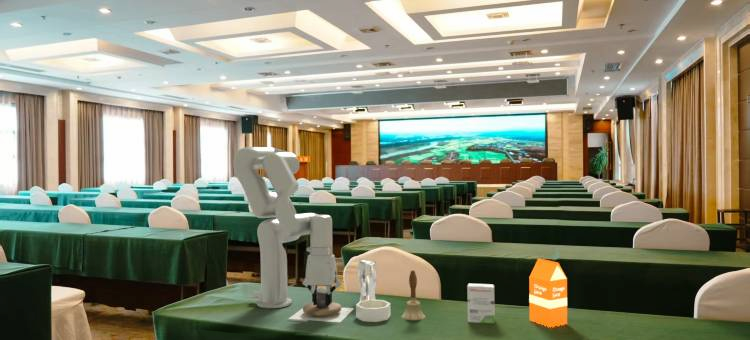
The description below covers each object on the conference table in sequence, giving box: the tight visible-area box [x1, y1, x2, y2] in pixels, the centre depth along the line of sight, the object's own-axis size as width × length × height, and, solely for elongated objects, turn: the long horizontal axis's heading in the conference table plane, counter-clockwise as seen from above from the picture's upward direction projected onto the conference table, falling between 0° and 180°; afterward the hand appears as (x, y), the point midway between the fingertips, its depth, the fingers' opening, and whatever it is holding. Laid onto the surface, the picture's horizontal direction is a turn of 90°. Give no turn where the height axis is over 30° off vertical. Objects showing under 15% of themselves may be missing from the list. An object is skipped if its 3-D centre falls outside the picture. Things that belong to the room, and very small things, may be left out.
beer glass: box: [357, 259, 378, 301], centre depth 192 cm, size 7×7×15 cm
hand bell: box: [401, 270, 426, 321], centre depth 171 cm, size 8×8×16 cm
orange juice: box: [528, 257, 568, 329], centre depth 166 cm, size 8×9×20 cm
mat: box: [287, 307, 355, 323], centre depth 176 cm, size 18×16×1 cm
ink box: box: [466, 282, 496, 324], centre depth 168 cm, size 9×5×12 cm, turn 76°
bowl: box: [355, 299, 392, 323], centre depth 172 cm, size 11×11×5 cm
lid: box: [302, 290, 342, 316], centre depth 176 cm, size 13×13×6 cm
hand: (322, 304), depth 176 cm, fingers closed on lid, 3 cm apart
